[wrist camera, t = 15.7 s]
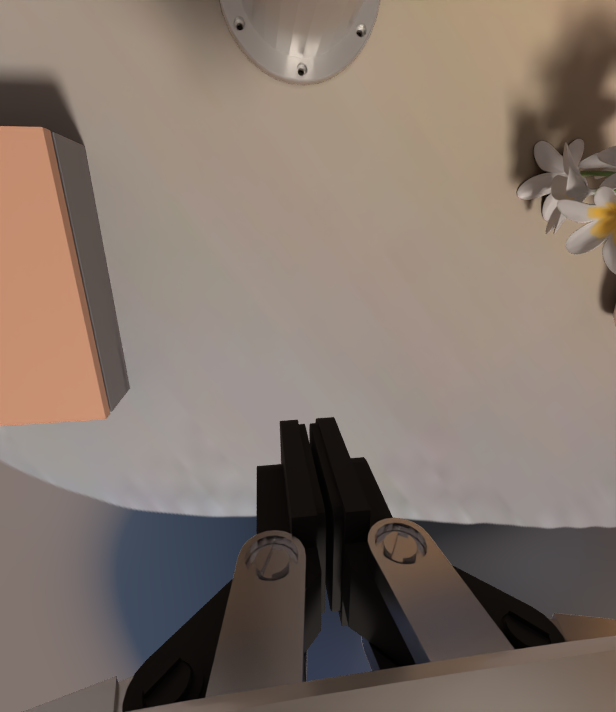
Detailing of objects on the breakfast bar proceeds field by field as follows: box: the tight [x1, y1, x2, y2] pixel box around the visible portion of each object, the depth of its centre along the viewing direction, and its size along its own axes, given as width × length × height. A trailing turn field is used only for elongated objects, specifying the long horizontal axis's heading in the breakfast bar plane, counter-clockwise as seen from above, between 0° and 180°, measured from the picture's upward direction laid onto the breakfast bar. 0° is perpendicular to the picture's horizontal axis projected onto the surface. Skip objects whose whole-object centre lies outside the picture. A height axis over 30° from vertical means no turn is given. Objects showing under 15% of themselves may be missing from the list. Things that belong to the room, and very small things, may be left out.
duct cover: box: [0, 126, 110, 426], centre depth 28 cm, size 22×12×1 cm, turn 0°
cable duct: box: [51, 132, 130, 412], centre depth 31 cm, size 22×11×5 cm, turn 0°
